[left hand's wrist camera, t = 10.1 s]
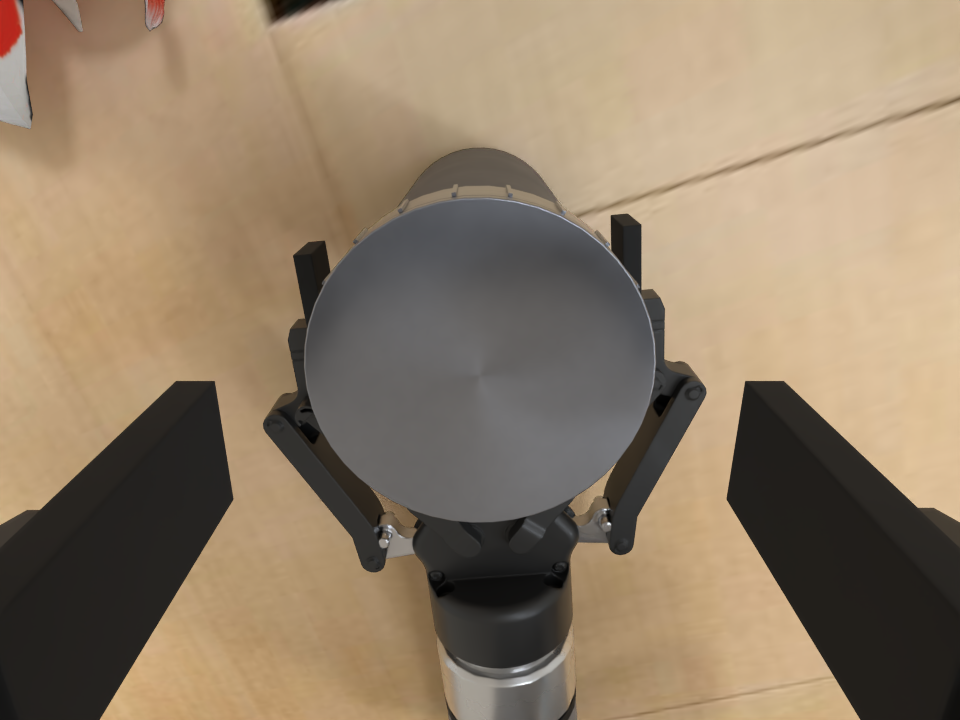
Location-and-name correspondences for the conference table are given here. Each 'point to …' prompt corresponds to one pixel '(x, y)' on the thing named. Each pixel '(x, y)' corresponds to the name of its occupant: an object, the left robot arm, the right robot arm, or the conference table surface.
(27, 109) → the fish
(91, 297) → the conference table surface
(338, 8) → the conference table surface
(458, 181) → the jar
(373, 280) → the lid
